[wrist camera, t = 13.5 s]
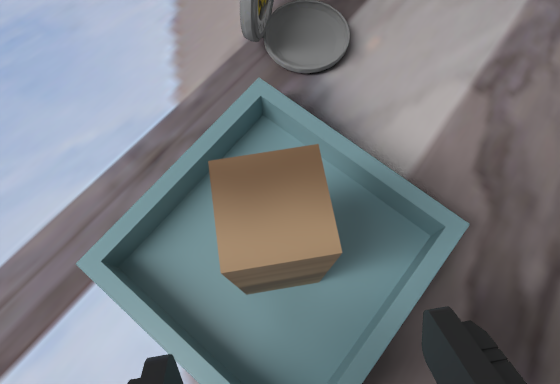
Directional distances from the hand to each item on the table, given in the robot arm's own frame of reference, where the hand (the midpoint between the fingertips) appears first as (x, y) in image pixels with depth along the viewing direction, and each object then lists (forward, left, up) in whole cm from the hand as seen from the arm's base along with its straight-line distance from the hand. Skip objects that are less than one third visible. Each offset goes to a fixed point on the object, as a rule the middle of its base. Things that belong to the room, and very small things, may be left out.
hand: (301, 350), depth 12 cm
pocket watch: (-17, -14, -12) cm, 25 cm away
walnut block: (-3, -4, -11) cm, 12 cm away
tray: (-3, -4, -11) cm, 13 cm away
